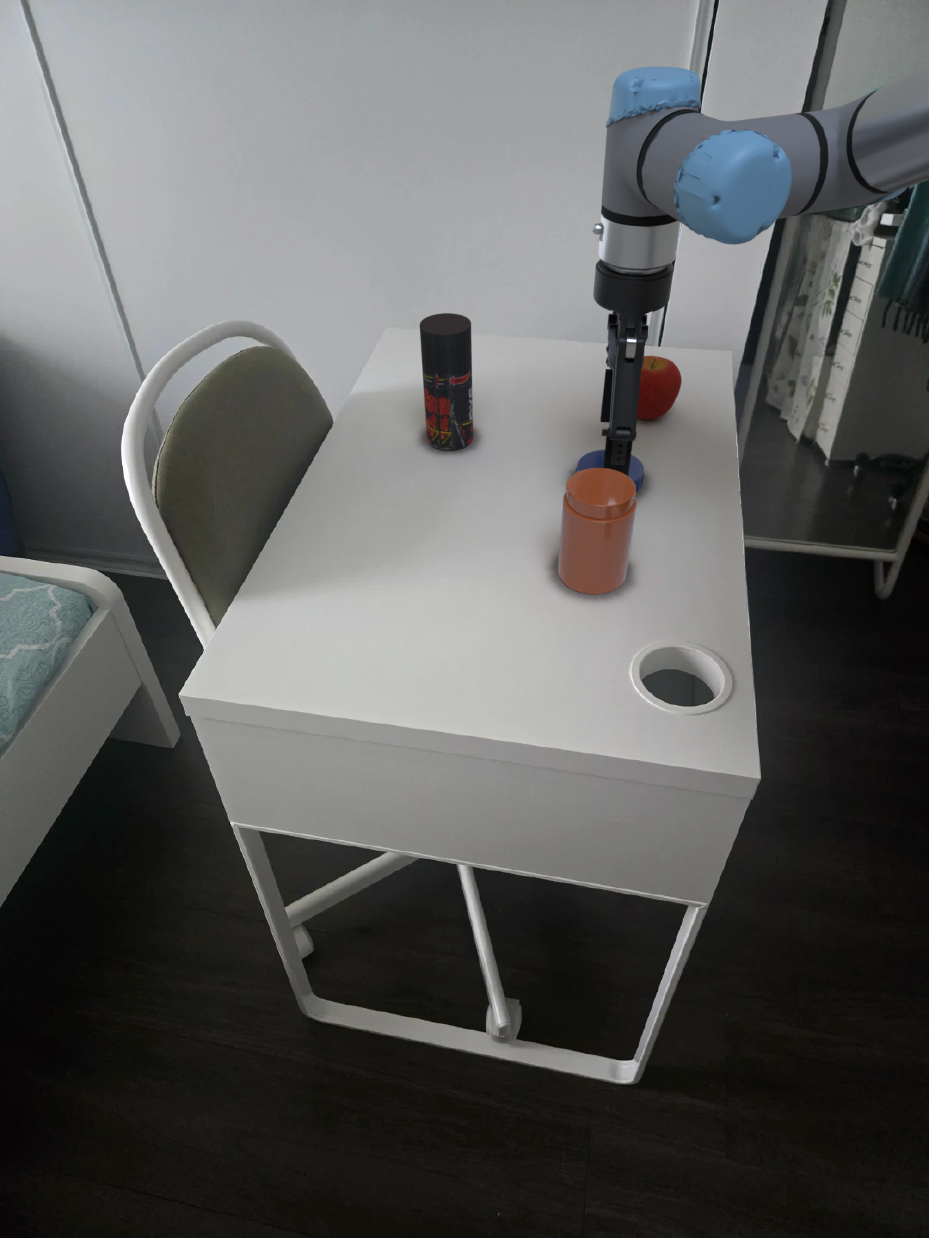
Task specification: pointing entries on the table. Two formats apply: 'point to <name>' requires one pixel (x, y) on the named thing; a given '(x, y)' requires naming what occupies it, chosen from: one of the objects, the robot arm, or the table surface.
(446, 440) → the deodorant
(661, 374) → the apple
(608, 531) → the jam jar
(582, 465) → the jar lid
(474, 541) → the table surface
